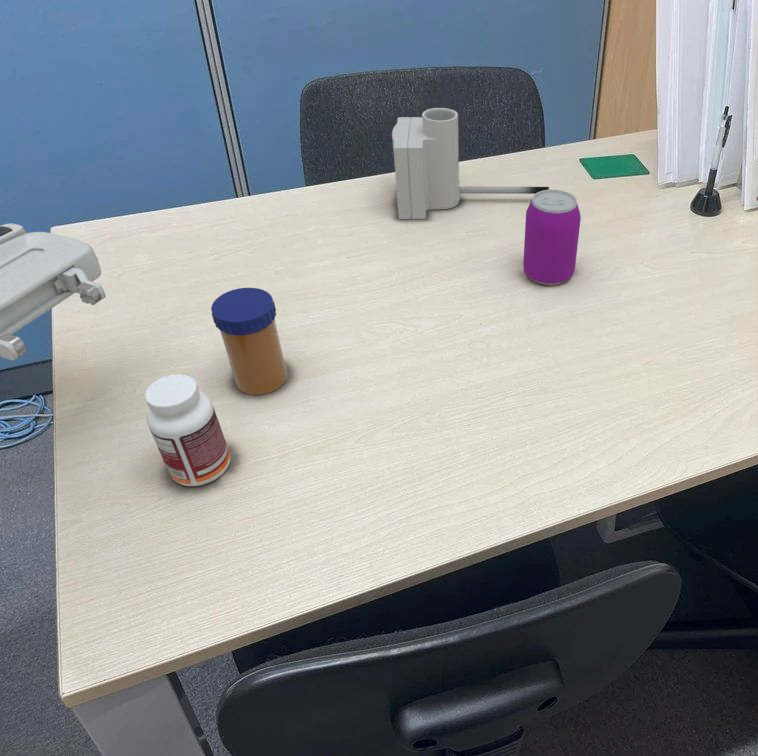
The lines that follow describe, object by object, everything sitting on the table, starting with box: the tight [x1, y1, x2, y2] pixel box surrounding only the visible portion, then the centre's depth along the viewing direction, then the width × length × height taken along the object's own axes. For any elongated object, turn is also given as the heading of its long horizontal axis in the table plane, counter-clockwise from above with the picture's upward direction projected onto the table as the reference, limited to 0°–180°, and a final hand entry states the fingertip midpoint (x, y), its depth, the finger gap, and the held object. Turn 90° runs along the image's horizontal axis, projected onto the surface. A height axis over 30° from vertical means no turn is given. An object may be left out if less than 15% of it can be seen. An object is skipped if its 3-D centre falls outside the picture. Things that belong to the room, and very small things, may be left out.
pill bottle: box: [144, 373, 231, 487], centre depth 71 cm, size 6×6×11 cm
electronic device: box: [391, 107, 550, 220], centre depth 116 cm, size 12×26×15 cm, turn 93°
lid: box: [210, 287, 277, 335], centre depth 79 cm, size 7×7×2 cm
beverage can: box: [522, 189, 582, 286], centre depth 101 cm, size 8×8×12 cm
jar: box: [219, 319, 288, 396], centre depth 82 cm, size 6×6×11 cm
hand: (60, 321), depth 67 cm, fingers open, 8 cm apart
